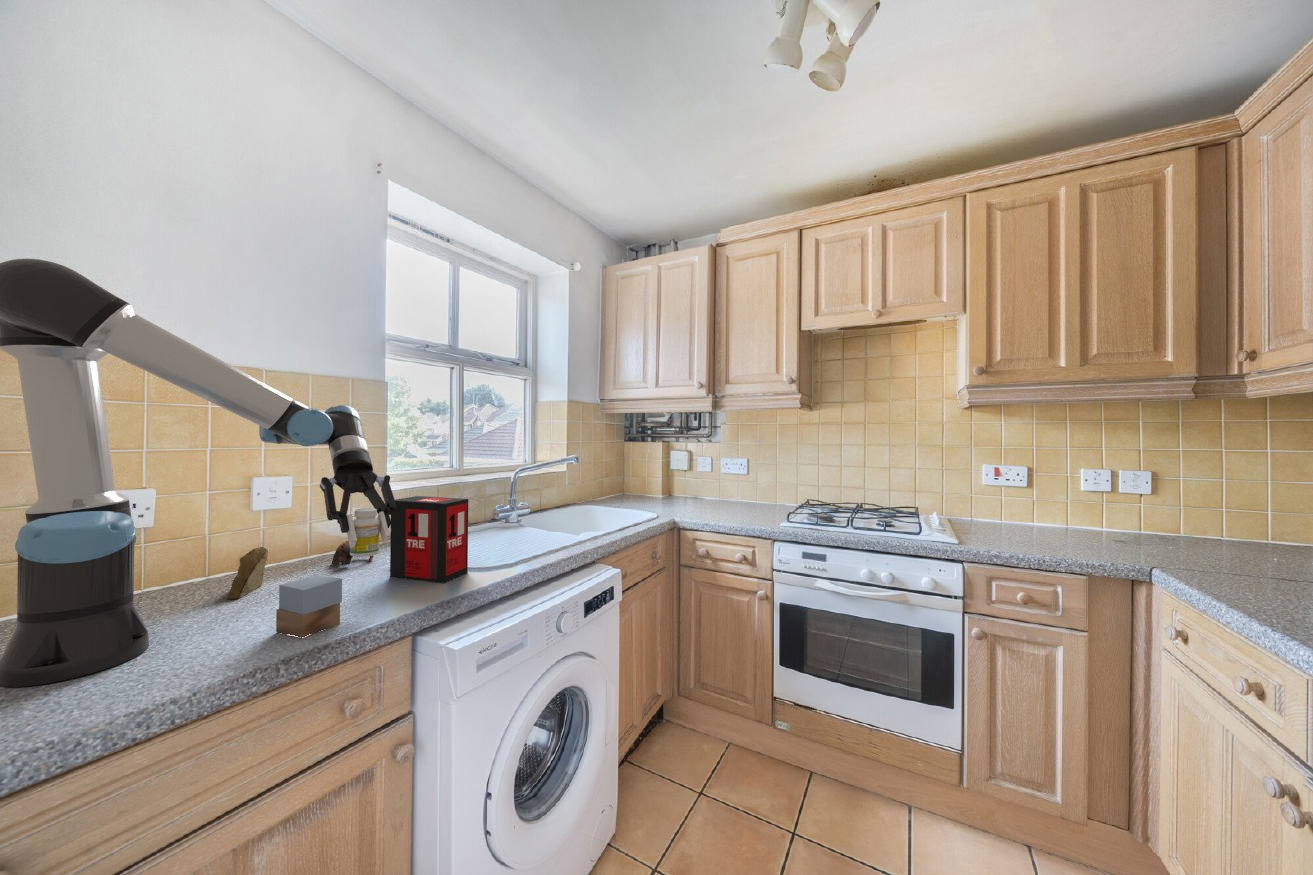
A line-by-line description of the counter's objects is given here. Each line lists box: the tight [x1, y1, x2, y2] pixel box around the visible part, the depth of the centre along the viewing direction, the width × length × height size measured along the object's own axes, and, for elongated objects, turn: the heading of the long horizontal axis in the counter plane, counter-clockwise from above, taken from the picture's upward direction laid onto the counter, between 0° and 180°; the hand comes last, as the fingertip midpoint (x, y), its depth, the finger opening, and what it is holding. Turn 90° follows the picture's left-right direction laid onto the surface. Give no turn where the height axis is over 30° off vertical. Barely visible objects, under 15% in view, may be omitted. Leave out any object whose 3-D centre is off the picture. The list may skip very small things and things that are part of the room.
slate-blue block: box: [278, 574, 343, 615], centre depth 88 cm, size 7×7×4 cm
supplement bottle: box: [350, 507, 381, 558], centre depth 98 cm, size 5×5×10 cm
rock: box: [226, 546, 269, 600], centre depth 106 cm, size 11×9×10 cm
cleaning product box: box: [389, 495, 469, 584], centre depth 121 cm, size 16×9×20 cm, turn 76°
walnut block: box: [275, 602, 341, 638], centre depth 87 cm, size 7×7×4 cm
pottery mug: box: [330, 540, 375, 568], centre depth 130 cm, size 12×10×8 cm
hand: (370, 541), depth 96 cm, fingers closed on supplement bottle, 5 cm apart
